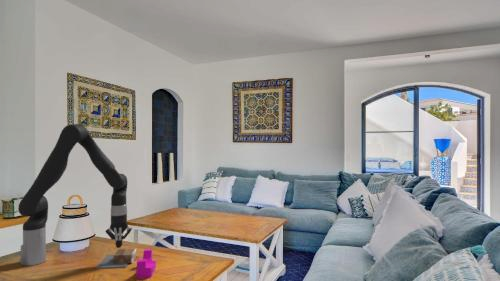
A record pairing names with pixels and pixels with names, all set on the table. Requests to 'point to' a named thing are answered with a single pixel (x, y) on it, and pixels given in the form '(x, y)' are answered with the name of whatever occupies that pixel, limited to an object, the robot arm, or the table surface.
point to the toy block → (146, 265)
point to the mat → (110, 263)
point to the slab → (124, 256)
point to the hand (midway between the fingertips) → (119, 247)
